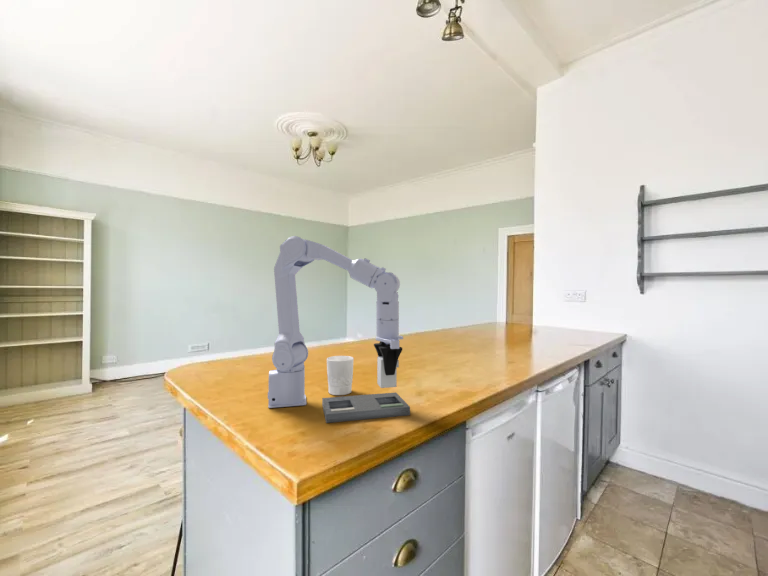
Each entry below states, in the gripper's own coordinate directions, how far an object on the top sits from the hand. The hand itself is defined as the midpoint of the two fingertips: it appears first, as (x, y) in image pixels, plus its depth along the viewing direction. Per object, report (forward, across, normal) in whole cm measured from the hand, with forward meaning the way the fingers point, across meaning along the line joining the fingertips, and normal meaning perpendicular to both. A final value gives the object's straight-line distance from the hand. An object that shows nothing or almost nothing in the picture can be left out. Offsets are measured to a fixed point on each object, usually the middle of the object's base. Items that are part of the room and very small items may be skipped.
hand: (387, 372), depth 89 cm
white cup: (+9, +17, +10) cm, 22 cm away
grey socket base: (+9, 0, +6) cm, 11 cm away
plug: (+3, 0, 0) cm, 3 cm away
